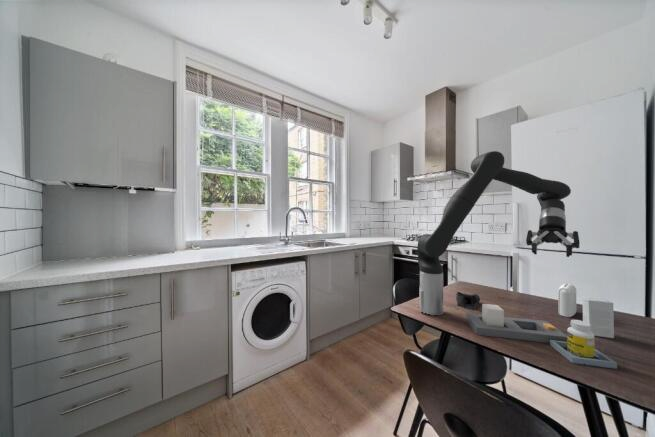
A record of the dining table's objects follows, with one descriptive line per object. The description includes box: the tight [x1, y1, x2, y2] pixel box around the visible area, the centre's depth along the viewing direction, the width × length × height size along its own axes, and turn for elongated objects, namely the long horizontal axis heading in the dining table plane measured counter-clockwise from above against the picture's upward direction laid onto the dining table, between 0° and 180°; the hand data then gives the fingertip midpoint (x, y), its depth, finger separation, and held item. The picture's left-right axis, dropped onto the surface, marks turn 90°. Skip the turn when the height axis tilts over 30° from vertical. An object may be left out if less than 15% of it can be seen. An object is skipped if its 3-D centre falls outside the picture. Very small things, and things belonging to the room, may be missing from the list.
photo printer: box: [557, 283, 577, 318], centre depth 97 cm, size 10×4×12 cm, turn 123°
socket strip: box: [465, 303, 567, 344], centre depth 83 cm, size 26×12×8 cm, turn 74°
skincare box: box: [581, 296, 615, 339], centre depth 80 cm, size 6×4×12 cm
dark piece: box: [455, 291, 481, 311], centre depth 108 cm, size 9×8×12 cm
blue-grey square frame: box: [549, 340, 618, 370], centre depth 68 cm, size 10×10×2 cm
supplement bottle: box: [566, 319, 596, 359], centre depth 68 cm, size 5×5×10 cm
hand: (550, 254), depth 84 cm, fingers open, 8 cm apart
